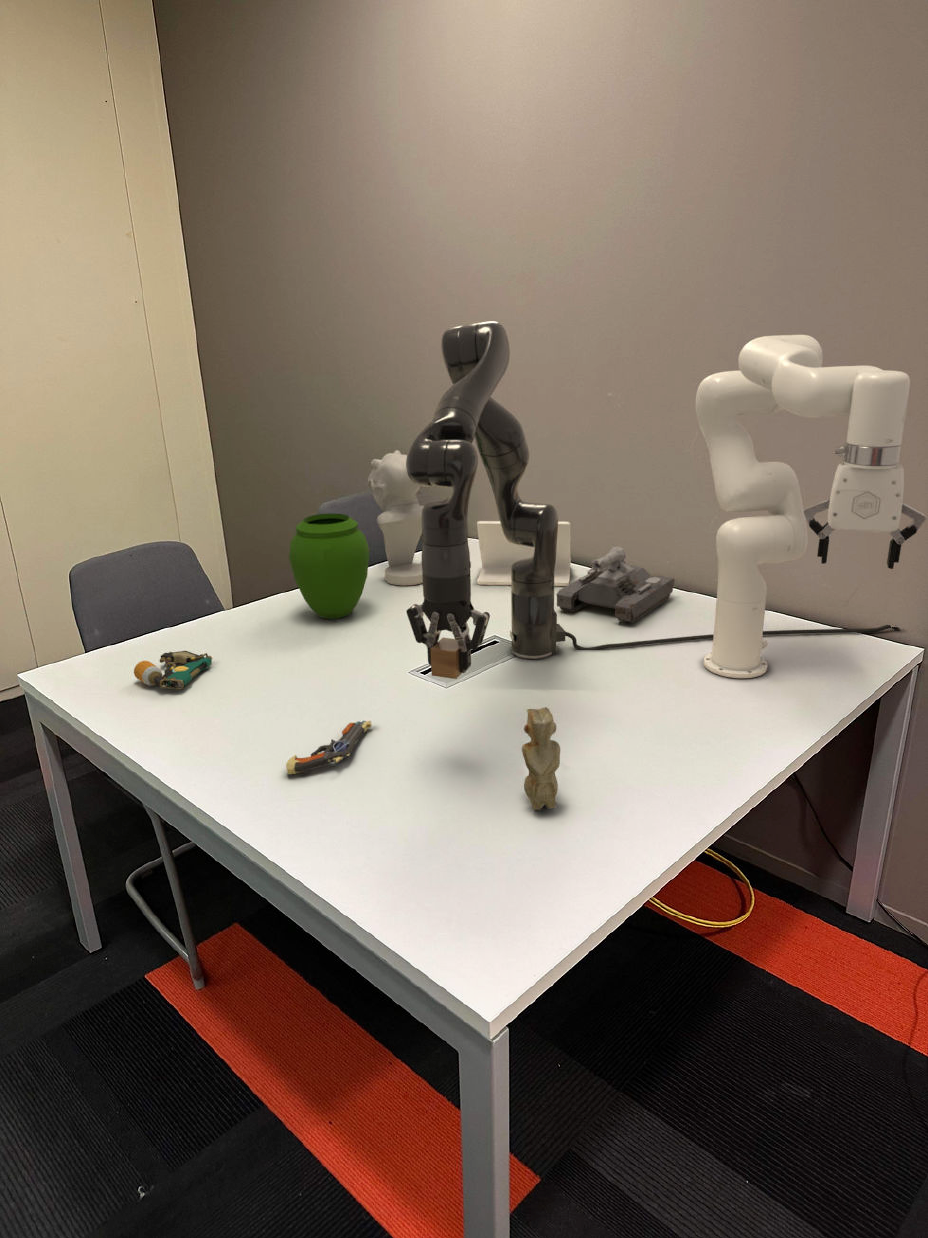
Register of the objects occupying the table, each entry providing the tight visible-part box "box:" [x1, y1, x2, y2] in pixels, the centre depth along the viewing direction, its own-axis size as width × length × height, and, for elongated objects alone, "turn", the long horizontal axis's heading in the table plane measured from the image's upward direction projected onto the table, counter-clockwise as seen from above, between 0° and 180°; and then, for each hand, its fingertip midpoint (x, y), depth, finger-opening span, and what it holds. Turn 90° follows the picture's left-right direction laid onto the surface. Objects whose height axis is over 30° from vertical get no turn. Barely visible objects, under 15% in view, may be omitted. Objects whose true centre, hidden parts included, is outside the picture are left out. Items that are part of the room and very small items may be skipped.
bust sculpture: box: [366, 449, 424, 586], centre depth 237 cm, size 16×24×35 cm
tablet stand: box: [476, 520, 572, 587], centre depth 236 cm, size 18×25×17 cm
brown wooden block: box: [430, 637, 463, 680], centre depth 138 cm, size 5×4×5 cm
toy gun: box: [285, 720, 373, 775], centre depth 148 cm, size 3×19×10 cm
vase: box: [288, 512, 370, 620], centre depth 209 cm, size 20×20×24 cm
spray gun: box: [133, 650, 213, 690], centre depth 180 cm, size 4×17×15 cm
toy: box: [556, 546, 676, 624], centre depth 212 cm, size 25×20×15 cm
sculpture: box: [521, 706, 561, 811], centre depth 129 cm, size 6×7×15 cm
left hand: (449, 668), depth 139 cm, fingers closed on brown wooden block, 4 cm apart
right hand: (856, 563), depth 135 cm, fingers open, 9 cm apart
